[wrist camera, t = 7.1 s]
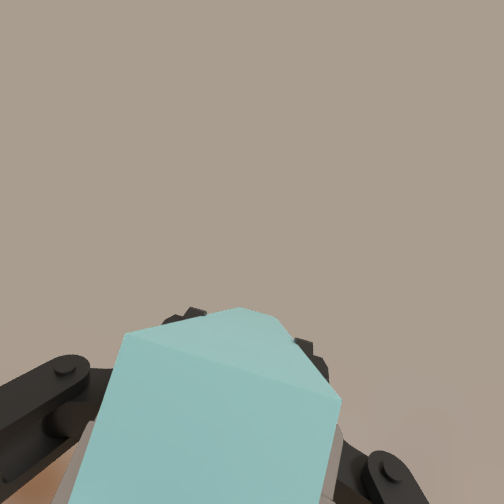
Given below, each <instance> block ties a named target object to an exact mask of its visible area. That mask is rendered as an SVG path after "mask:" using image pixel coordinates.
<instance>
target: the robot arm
mask: <svg viewBox="0 0 504 504" xmlns="http://www.w3.org/2000/svg"><path fill="white" fill-rule="evenodd" d="M206 315H207V312H206V311H203V310H200V309H197V308H193V307H190V308H189V309H188V310H187V312H186V313H185V315H184V316H183V317H182V316H179V315H176V314H175V315H173V316H171V317H169V318H167V319H166V320H165V321H164V322H163V323H162V325H164V324H169V323H173V322H177V321H182V320H186V319H190V318H195V317H199V316H206ZM294 342H295V343H296V344H297V345H298V346H299V347H300V348H301V349H302V351H303V352H304V353H305V354H306V356H307V357H308V358H309V359H310V361H311V362H312V363H313V364H314V366H315V367H316V368H317V369H318V371H319V372H320V373H321V374H322V376H323V377H324V378H325V379H326V381H327V382H328V383H329V374H328V367H327V365H326V364H325V362H324V360H323V358H321V357H318V356H314V355H313V343H312V342H310V341H306V340H303V339H299V338H295V339H294ZM112 371H113V369H97V368H90V364H89V362H88V360H87V359H85V358H84V357H82V356H79V355H64V356H59V357H57V358H54V359H52V360H50V361H48V362H46V363H44V364H42V365H40V366H39V367H37V368H35V369H33V370H31V371H29V372H27V373H25V374H23V375H21V376H19V377H17V378H16V379H14V380H12V381H10V382H8V383H6V384H4V385H2V386H0V504H1V503H2V502H3V501H5V500H6V499H7V498H9V497H10V496H11V495H12V494H13V493H15V492H16V491H17V490H18V489H20V488H21V487H22V486H24V485H25V484H26V483H27V482H29V481H30V480H31V479H32V478H34V477H35V476H36V475H37V474H38V473H40V472H41V471H42V470H44V469H45V468H46V467H47V466H48V465H50V464H51V463H52V462H53V461H55V460H56V459H57V458H58V457H60V456H61V455H62V454H63V453H65V452H66V451H67V450H68V449H70V448H71V447H72V446H74V445H75V444H76V443H77V442H79V443H78V445H77V447H76V450H75V452H74V454H73V456H72V458H71V461H70V463H69V465H68V467H67V470H66V472H65V474H64V476H63V478H62V481H61V483H60V485H59V488H58V489H57V492H56V494H55V496H54V498H53V500H52V503H51V504H68V502H69V499H70V496H71V493H72V490H73V487H74V484H75V481H76V478H77V475H78V472H79V469H80V466H81V464H82V461H83V458H84V455H85V452H86V449H87V446H88V443H89V440H90V437H91V434H92V431H93V428H94V425H95V422H96V419H97V416H98V413H99V410H100V407H101V404H102V401H103V398H104V395H105V392H106V389H107V386H108V383H109V380H110V377H111V374H112ZM319 504H429V502H428V501H427V499H426V497H425V496H424V494H423V492H422V490H421V489H420V487H419V485H418V484H417V482H416V480H415V479H414V477H413V475H412V474H411V472H410V470H409V469H408V468H407V467H406V465H405V464H404V463H403V462H402V461H401V460H399V459H398V458H397V457H395V456H394V455H392V454H390V453H388V452H385V451H374V452H372V453H371V454H370V455H369V457H368V456H366V455H365V454H363V453H362V452H360V451H358V450H357V449H355V448H353V447H352V446H351V445H349V444H348V443H347V442H346V441H344V439H343V434H342V432H341V429H340V428H339V426H338V425H337V424H336V429H335V433H334V438H333V442H332V447H331V451H330V456H329V460H328V464H327V469H326V473H325V478H324V482H323V487H322V491H321V496H320V500H319Z"/></svg>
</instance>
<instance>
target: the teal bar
mask: <svg viewBox="0 0 504 504" xmlns="http://www.w3.org/2000/svg"><path fill="white" fill-rule="evenodd" d="M341 402H342V399H341V398H340V397H339V396H338V394H336V392H335V391H334V390H333V388H332V387H331V386H330V384H329V383H328V382H327V381H326V379H325V378H324V377H323V376H322V374H321V373H320V372H319V371H318V369H317V368H316V367H315V366H314V364H313V363H312V362H311V361H310V359H309V358H308V357H307V356H306V354H305V353H304V352H303V351H302V349H301V348H300V347H299V346H298V345H297V344H296V343H295V342H294V339H293V338H292V337H291V336H290V335H289V333H288V332H287V331H286V330H285V328H284V327H283V326H282V325H281V323H280V322H279V321H278V320H277V318H276V317H273V316H270V315H266V314H263V313H259V312H256V311H252V310H249V309H245V308H242V307H238V308H234V309H229V310H225V311H221V312H216V313H212V314H208V315H206V316H199V317H195V318H190V319H186V320H182V321H177V322H173V323H169V324H164V325H160V326H156V327H151V328H147V329H143V330H139V331H135V332H130V333H126V334H125V336H124V339H123V342H122V345H121V348H120V351H119V354H118V357H117V360H116V363H115V365H114V368H113V371H112V374H111V377H110V380H109V383H108V386H107V389H106V392H105V395H104V398H103V401H102V404H101V407H100V410H99V413H98V416H97V419H96V422H95V425H94V428H93V431H92V434H91V437H90V440H89V443H88V446H87V449H86V452H85V455H84V458H83V461H82V464H81V466H80V469H79V472H78V475H77V478H76V481H75V484H74V487H73V490H72V493H71V496H70V499H69V502H68V504H319V500H320V496H321V491H322V487H323V482H324V478H325V473H326V469H327V464H328V460H329V456H330V451H331V447H332V442H333V438H334V433H335V429H336V424H337V419H338V415H339V411H340V407H341Z"/></svg>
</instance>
